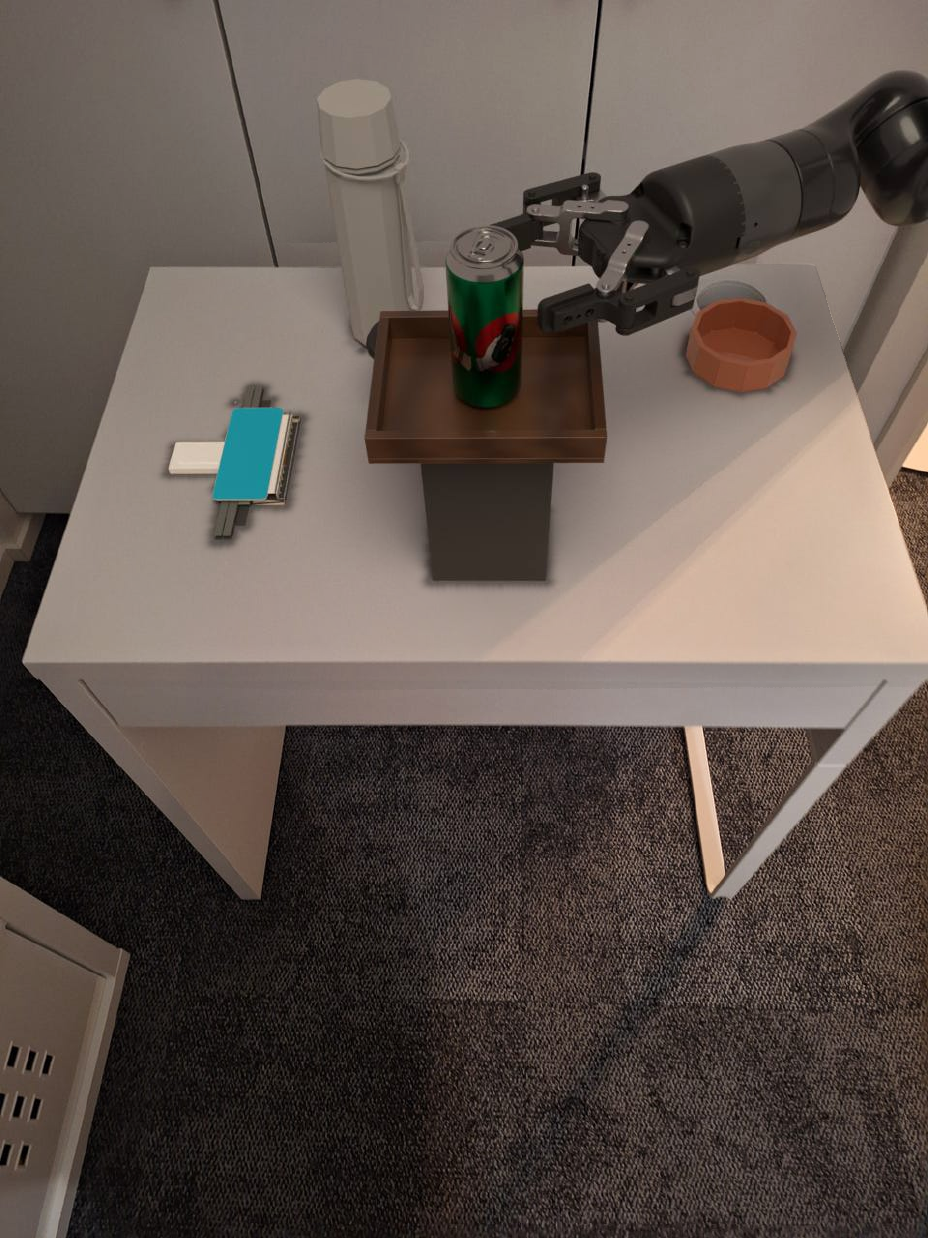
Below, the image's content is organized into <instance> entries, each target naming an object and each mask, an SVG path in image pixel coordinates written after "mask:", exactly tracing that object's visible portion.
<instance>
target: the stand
mask: <svg viewBox="0 0 928 1238" xmlns="http://www.w3.org/2000/svg"><path fill="white" fill-rule="evenodd" d="M554 464H555V463H437V464H420V472H421V481H422V490H423V492H422V493H423V500H424V508H425V509H424V510H425V519H426V528H427V537H428V547H429V554H430V555H429V556H430V557H429V558H430V565H431V575H432V581H434V582H546V581H547V571H548V570H547V569H548V556H549V541H550V540H549V538H550V525H551V511H552V494H553V482H554V481H553V479H554Z"/></svg>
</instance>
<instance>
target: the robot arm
mask: <svg viewBox="0 0 928 1238" xmlns="http://www.w3.org/2000/svg"><path fill="white" fill-rule="evenodd" d="M601 182H602V175H601V174H600V173H598V172H596V171H595V172H594V171H591V172H587V173H582V174H579V175H576V176H571V177H568V178H565V179H560V180H557V181H552V182H550V183H546V184H542V185H538V186H535V187H530V188H528V189H525V190H524V191H523V192H522V214H518V215H515V216H512V217H510V218H507V219H504V220H501V221H497V222H494V223H491V224H489V225H490V226H497V227H501V228H503V229H506V230H508V231H509V232H511V233H512V234H513V235H514V236H515V237H516V239H517V242H518V247H519V249H520V250H521V252H523V251H527V250H529V249H532V247H544V248H553V249H554V248H555V250H557V251H558V253H559V254H561V255H563V256H573V257H579V258H580V259H581V260H582V262H584V263H585V264H586V265H589V266H590V267H591V269H592V271H593V273H594V275H595V276H596V277H597V278H598V281H597V282H596V284H595V287H593V286H592V285H591V283H590V282H587V283H585V284H583V285H579V286H577V287H573V288H570V289H568V290H565V291H562V292H559V293H557V294H554V295H550V296H547V297H544V298H543V299H541V300H540V301H539V302H538V305H537V309H538V314H537V325H538V326H539V328H540V329H541V330H542V331H543V332H544V333H550V332H553V331H554V332H559V331H565V330H567V329H570V328H573V327H575V326H579V325H581V324H584V323H587V322H590V321H593V320H595V321H597V322H598V323H601V324H605V323H611V324H612V325H614V326H615V333H616V334H618V335H619V336H624V337H626V336H631V335H633V334H635V333H638V332H640V331H643V330H645V329H647V328H649V327H652V326H654V325H657V324H659V323H663V322H664V321H666V320H669V319H671V318H674V317H676V316H678V315H681V314H683V313H686V312H688V311H691V310H692V309H693V308H694V305H695V300H696V297H697V292H698V287H699V282H700V277H702V276H705V275H708V274H712V273H713V272H717V271H720V270H722V269H725V268H728V267H730V266H734V265H736V264H739V263H742V262H744V261H748V260H751V259H753V258H755V257H758V256H760V255H762V254H763V253H766V252H767V251H769V250H771V249H773V248H775V247H777V246H780V245H782V244H785V243H788V242H790V241H794V240H797V239H799V238H802V237H804V236H808V235H811V234H813V233H816V232H819V231H822V230H825V229H827V228H829V227H831V226H833V225H835V224H838V222H841V220H843V219H844V218H846V217H847V216H848V214H849V213H850V212H851V211H852V210H853V208H854V206H855V204H856V202H857V201H858V197H859V195H860V189H861V191H862V192H863V194H864V195H865V198H866V199H867V201H868V203H869V205H870V206H871V208H872V210H873V212H874V213H875V214H876V216H878V218H879V219H880V221H882V222H884V223H885V224H887V225H889V226H893V227H909V226H915V225H918V224H921V223H923V222H926V221H928V77H926V76H925V75H924V74H923V73H920V72H918V71H913V70H909V69H896V70H892V71H888V72H886V73H883V74H881V75H879V76H878V77H876V78H875V79H874V80H872V81H870V82H869V83H868V84H866V85H864V86H863V87H862V88H861V89H860V90H858V91H857V92H856V93H855V94H853V95H852V96H850V97H849V98H848V99H847V100H845V101H844V102H842V103H841V104H840V105H838V106H837V107H835V108H834V109H832V110H831V111H829V112H827V113H826V114H824V115H822V116H821V117H819V118H817V119H816V120H814V121H813V122H810V123H809V124H807V125H805V126H803V127H802V128H798V129H794V130H792V131H789V132H786V133H782V134H779V135H776V136H773V137H770V138H766V139H764V140H761V141H756V142H750V143H749V142H748V143H743V144H742V143H741V144H736V145H732V146H729V147H725V148H722V149H719V150H716V151H713V152H710V153H707V154H704V155H701V156H698V157H694V158H691V159H688V160H685V161H681V162H679V163H678V162H677V163H676V164H672V165H669V166H667V167H663V168H660V169H657V170H654V171H651V172H650V173H648V174H647V175H645V176H644V178H643V179H642V180H640V182H639V183H638V185H636V187H635V188H634V189H633V190H632V191H631V192H630V193H628V194H622V195H607V194H606V193H605V192H604V191H603V189H601V184H602V183H601ZM548 201H551V205H549V204H542V203H544V202H548ZM575 219H580V220H583V221H582V222H581V223H580V225H579V227H578V228H579V229H578V236H577V238H575V237H574V236H573V235H572V227H573V220H575ZM554 224H557V225H558V226H559V230H558V231H555V230H544V228H545V227H548V226H551V225H554ZM639 284H640V286H638V285H639ZM637 286H638V287H637ZM641 307H643V308H641ZM639 308H641V310H638V309H639ZM637 310H638V311H637Z"/></svg>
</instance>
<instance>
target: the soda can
mask: <svg viewBox="0 0 928 1238" xmlns="http://www.w3.org/2000/svg"><path fill="white" fill-rule="evenodd" d="M490 225H491V224H488V225H487V224H486V225H485V224H483V225H475V226H471V227H467V228H465V229H463V230H461V231H459V232H458V233H457V234H456V235H455V236H454V237H453V238H452V240H451V241H450V245H449V246H450V247H449V251H448V252H447V254H446V255H445V256H446V257H445V261H444V264H445V281H446V283H445V284H446V294H447V295H446V296H447V297H446V298H447V310H448V315H449V332H450V348H451V364H452V381H453V389H454V391H455V393H456V395H457V396H458V397H459V398H460V399H461V400H463V401H464V402H466V403H467V404H469V405H471V406H474V407H477V408H483V409H489V408H496V407H499V406H502V405H504V404H506V403H507V402H509V401H510V400H512V399H513V398H514V397H515V396H516V395H517V394H518V392H519V390H520V388H521V372H522V323H523V310H524V274H525V273H524V267H525V265H524V264H525V258H524V254H523V251H521V250H520V249H519V247H518V242H517V239H516V237H515V236H514V235H513V234H512V233H511V232H509V231H508V230H506V229H503V228H501V227H497V226H490Z"/></svg>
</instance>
